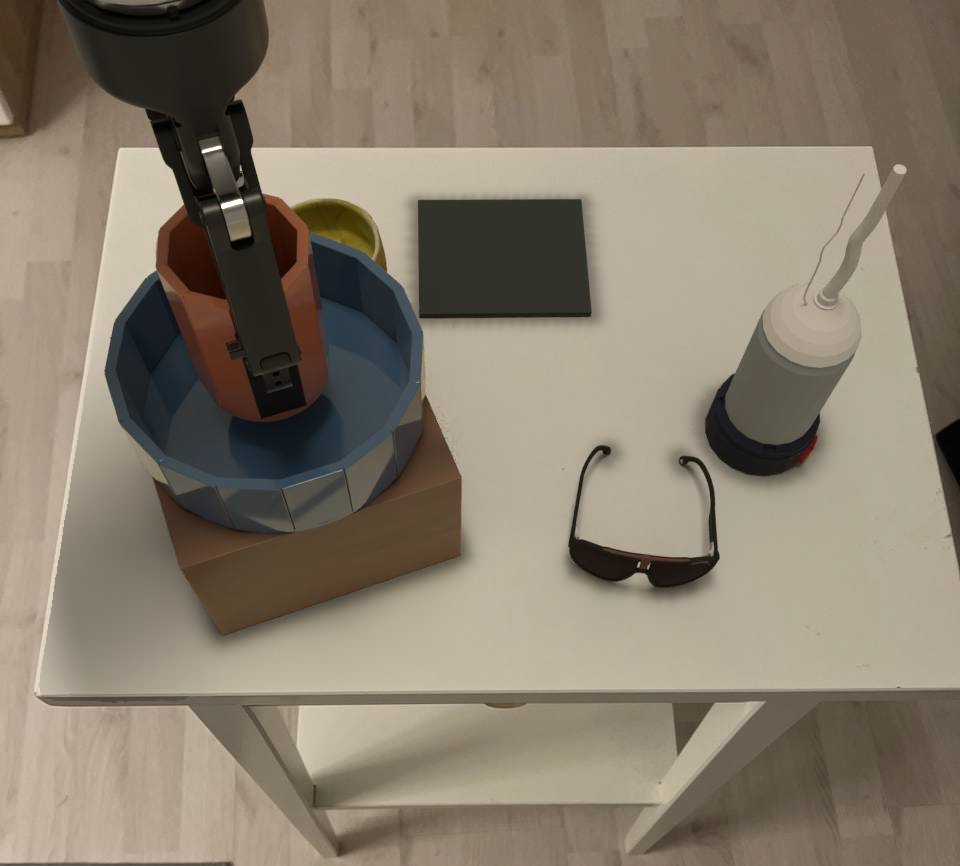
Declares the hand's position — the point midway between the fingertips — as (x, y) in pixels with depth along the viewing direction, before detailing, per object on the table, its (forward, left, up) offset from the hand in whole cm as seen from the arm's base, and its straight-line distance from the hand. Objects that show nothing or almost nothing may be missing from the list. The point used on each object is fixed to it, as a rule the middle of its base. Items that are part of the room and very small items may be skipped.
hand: (261, 350), depth 56 cm
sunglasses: (+11, +23, -17) cm, 30 cm away
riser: (0, 0, -16) cm, 16 cm away
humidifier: (+7, +35, -17) cm, 39 cm away
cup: (0, 0, -2) cm, 2 cm away
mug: (-15, +6, -17) cm, 23 cm away
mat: (-15, +22, -16) cm, 32 cm away
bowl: (0, 0, -5) cm, 5 cm away
